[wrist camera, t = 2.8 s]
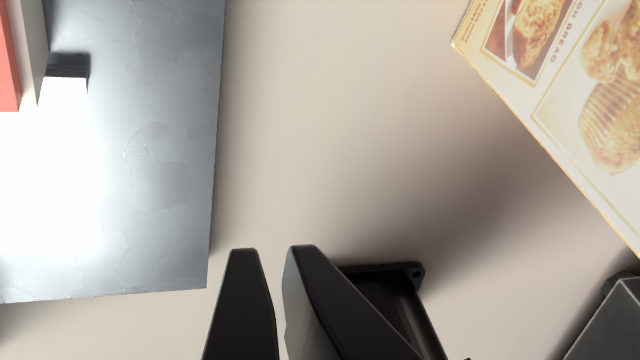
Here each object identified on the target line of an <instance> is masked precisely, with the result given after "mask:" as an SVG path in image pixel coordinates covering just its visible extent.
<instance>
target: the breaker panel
mask: <svg viewBox="0 0 640 360" xmlns="http://www.w3.org/2000/svg"><path fill="white" fill-rule="evenodd" d="M225 3H226V0H42V5H43V13H44V20H45V28H46V35H47V42H48V50H49V59H48V63H47V67H46V72H45V76H44V80H43V85H42V89H41V93H40V98H39V102H38V106H37V107H20V108H19V112H0V304H3V303H16V302H30V301H43V300H56V299H69V298H83V297H96V296H109V295H122V294H136V293H149V292H162V291H175V290H189V289H202V288H206V285H207V270H208V255H209V240H210V225H211V211H212V196H213V181H214V166H215V151H216V136H217V121H218V107H219V92H220V77H221V62H222V47H223V32H224V18H225Z"/></svg>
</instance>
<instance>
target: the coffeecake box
mask: <svg viewBox="0 0 640 360" xmlns="http://www.w3.org/2000/svg"><path fill="white" fill-rule="evenodd" d="M451 46H452V47H453V48H456V49H457V50H458V51H459V52H460V53H461V54H462V55H463V56H464V57H465V59H466V60H467V61H468V62H469V63H470V64H471V66H472V67H473V68H474V69H475V70H476V71H477V72H478V73H479V75H480V76H481V77H482V78H483V79H484V80H485V82H486V83H487V84H488V85H489V86H490V87H491V88H492V90H493V91H494V92H495V93H496V94H497V95H498V96H499V97H500V98H501V100H502V101H503V102H504V103H505V104H506V106H507V107H508V108H509V109H510V110H511V112H512V113H513V114H514V115H515V116H516V117H517V118H518V120H519V121H520V122H521V123H522V124H523V125H524V126H525V128H526V129H527V130H528V131H529V132H530V133H531V134H532V136H533V137H534V138H535V139H536V140H537V141H538V143H539V144H540V145H541V146H542V147H543V148H544V149H545V151H546V152H547V153H548V154H549V155H550V156H551V158H552V159H553V160H554V161H555V162H556V163H557V164H558V166H559V167H560V168H561V169H562V170H563V171H564V173H565V174H566V175H567V176H568V177H569V178H570V179H571V181H572V182H573V183H574V184H575V185H576V186H577V188H578V189H579V190H580V191H581V192H582V193H583V194H584V196H585V197H586V198H587V199H588V200H589V201H590V202H591V204H592V205H593V206H594V207H595V208H596V209H597V210H598V212H599V213H600V214H601V215H602V216H603V217H604V219H605V220H606V221H607V222H608V223H609V224H610V226H611V227H612V228H613V229H614V230H615V231H616V232H617V234H618V235H619V236H620V237H621V238H622V239H623V241H624V242H625V243H626V244H627V245H628V246H629V247H630V249H631V250H632V251H633V252H634V253H635V254H636V256H637V257H638V258H639V259H640V0H472V1H471V3H470V5H469V7H468V9H467V11H466V13H465V15H464V17H463V19H462V21H461V23H460V25H459V27H458V29H457V31H456V33H455V35H454V37H453V39H452V41H451Z"/></svg>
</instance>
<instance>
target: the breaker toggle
mask: <svg viewBox="0 0 640 360" xmlns="http://www.w3.org/2000/svg"><path fill="white" fill-rule="evenodd" d="M48 59H49V50H48V42H47V35H46V28H45V20H44V13H43V5H42V0H0V112H19V108H20V107H37V106H38V102H39V98H40V93H41V89H42V85H43V80H44V76H45V72H46V67H47V63H48Z"/></svg>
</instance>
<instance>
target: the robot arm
mask: <svg viewBox="0 0 640 360" xmlns="http://www.w3.org/2000/svg"><path fill="white" fill-rule="evenodd" d="M424 275H425V269H424V267H423V265H422V264H421V263H420V262H410V263H396V264H381V265H367V266H353V267H338V268H337V267H336V266H335V265H334V264H333V263H332V262H331V261H330V260H329V259H328V258H327V257H326V256H325V255H324V254H323V253H322V252H321V251H320V250H319V248H317V247H316V246H315V245H312V244H308V245H293V246H291V247H289V249H288V252H287V256H286V262H285V267H284V273H283V278H282V295H283V302H284V310H285V317H286V324H287V326H286V330H285V335H284V339H285V343H286V348H287V352H288V357H289V360H448V358H447V356H446V354H445V351H444V349H443V347H442V345H441V343H440V341H439V338H438V336H437V334H436V332H435V330H434V328H433V325H432V323H431V321H430V319H429V317H428V315H427V312H426V310H425V308H424V306H423V304H422V301H421V299H420V297H419V295H418V293H417V292H418V290H419V287H420V285H421V283H422V280H423V278H424ZM201 360H280V358H279V347H278V337H277V326H276V318H275V311H274V307H273V303H272V299H271V296H270V292H269V289H268V285H267V282H266V278H265V275H264V271H263V268H262V265H261V261H260V258H259V254H258V252H257V250H256V249H255V248H240V249H232V250H231V251H230V253H229V256H228V260H227V264H226V268H225V271H224V275H223V279H222V283H221V286H220V290H219V294H218V298H217V301H216V305H215V309H214V313H213V316H212V320H211V324H210V328H209V332H208V335H207V339H206V343H205V347H204V350H203V354H202V358H201ZM464 360H471V359H470V358H467V359H464Z"/></svg>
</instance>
